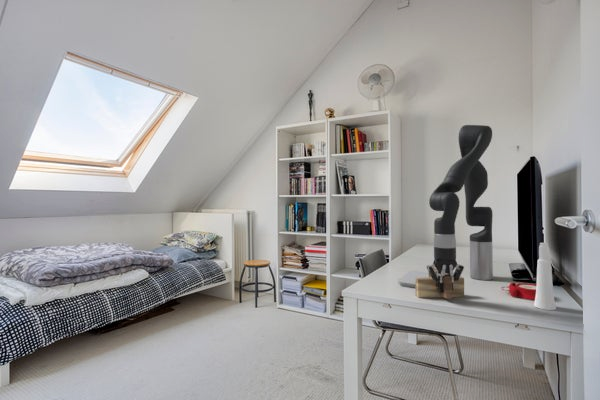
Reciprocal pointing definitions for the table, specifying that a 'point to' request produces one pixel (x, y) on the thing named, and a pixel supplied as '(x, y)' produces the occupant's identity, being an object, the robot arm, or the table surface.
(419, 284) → the oak slotted rail
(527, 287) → the alarm clock
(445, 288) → the walnut cross plate
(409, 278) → the tablet
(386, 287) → the table surface
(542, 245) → the cosmetic bottle
